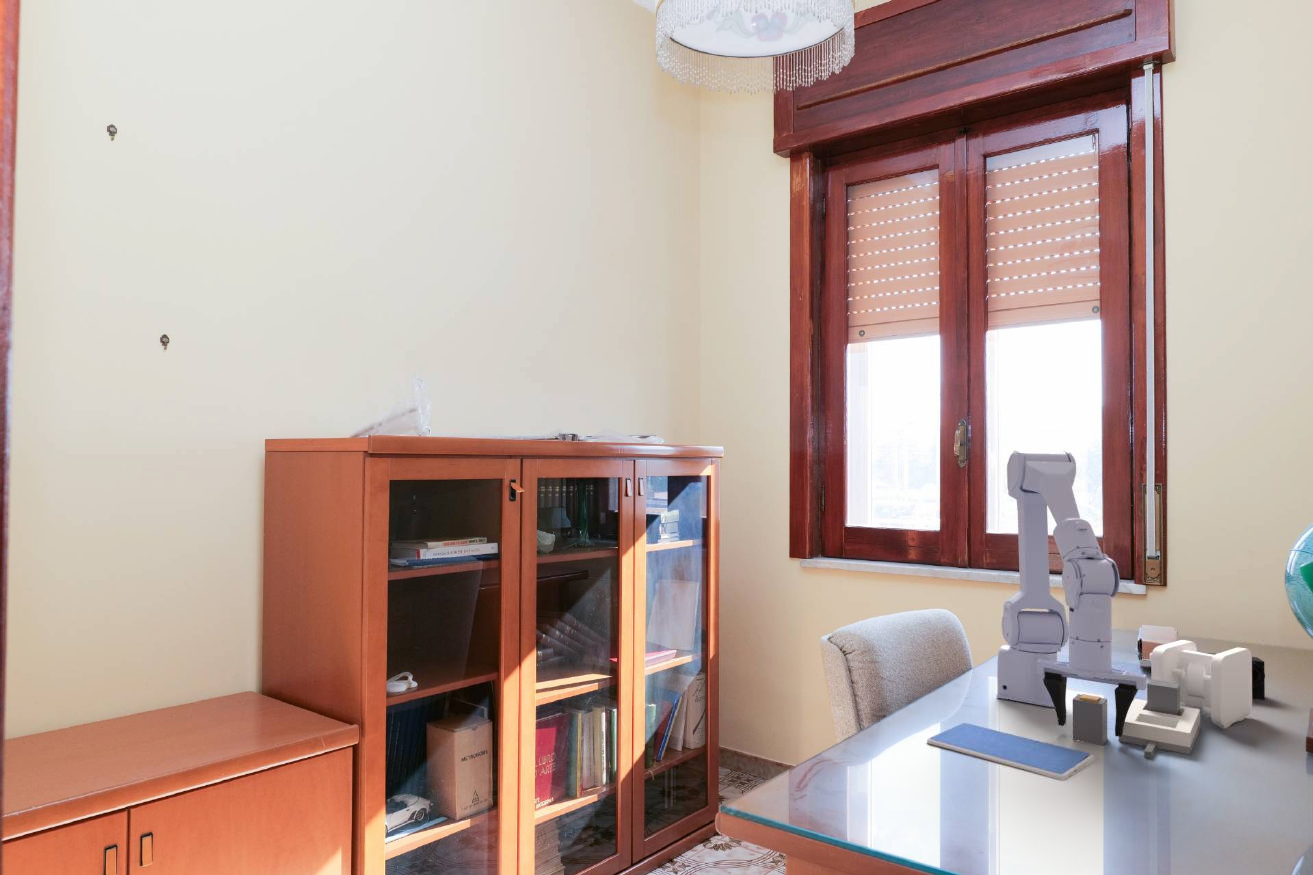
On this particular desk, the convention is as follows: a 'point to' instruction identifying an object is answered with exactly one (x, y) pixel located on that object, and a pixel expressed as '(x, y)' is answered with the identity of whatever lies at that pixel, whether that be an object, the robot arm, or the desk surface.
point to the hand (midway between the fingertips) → (1090, 729)
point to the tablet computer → (1013, 750)
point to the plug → (1090, 719)
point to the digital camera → (1257, 678)
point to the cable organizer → (1207, 679)
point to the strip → (1161, 720)
